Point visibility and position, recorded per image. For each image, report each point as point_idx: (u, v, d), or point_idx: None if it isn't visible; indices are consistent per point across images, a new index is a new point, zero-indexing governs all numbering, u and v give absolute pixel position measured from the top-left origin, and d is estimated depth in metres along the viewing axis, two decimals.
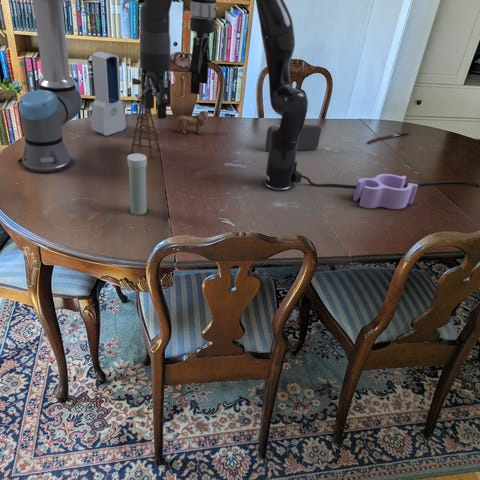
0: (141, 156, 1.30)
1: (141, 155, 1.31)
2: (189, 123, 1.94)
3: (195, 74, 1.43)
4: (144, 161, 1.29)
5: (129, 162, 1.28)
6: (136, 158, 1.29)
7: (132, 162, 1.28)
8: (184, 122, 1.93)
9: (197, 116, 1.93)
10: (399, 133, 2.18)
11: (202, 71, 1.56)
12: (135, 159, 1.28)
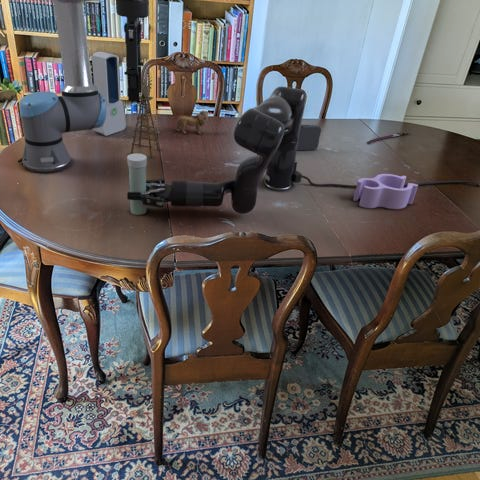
0: (141, 156, 1.30)
1: (141, 155, 1.31)
2: (189, 123, 1.94)
3: None
4: (144, 161, 1.29)
5: (129, 162, 1.28)
6: (136, 158, 1.29)
7: (132, 162, 1.28)
8: (184, 122, 1.93)
9: (197, 116, 1.93)
10: (399, 133, 2.18)
11: None
12: (135, 159, 1.28)
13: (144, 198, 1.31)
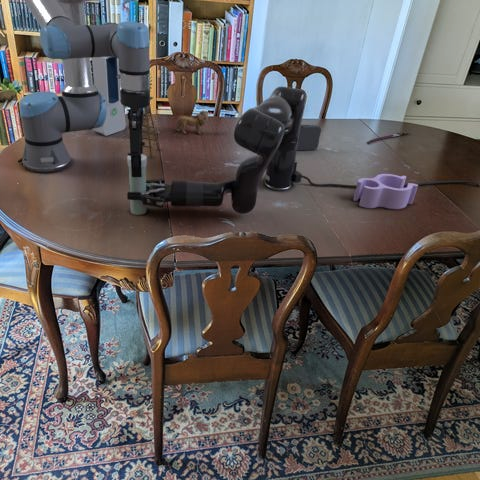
0: (141, 156, 1.30)
1: (141, 155, 1.31)
2: (189, 123, 1.94)
3: None
4: (144, 161, 1.29)
5: (129, 162, 1.28)
6: None
7: None
8: (184, 122, 1.93)
9: (197, 116, 1.93)
10: (399, 133, 2.18)
11: None
12: None
13: (144, 198, 1.31)
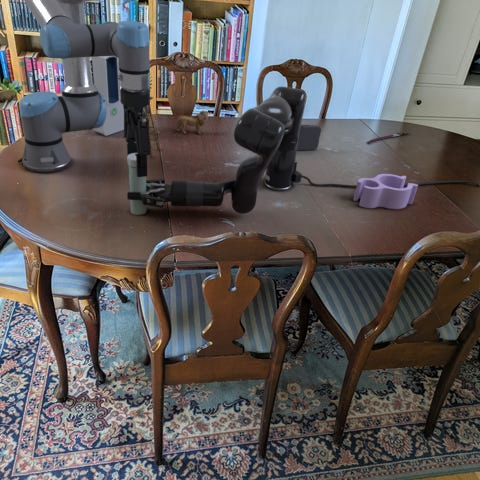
0: None
1: (134, 154, 1.31)
2: (189, 123, 1.94)
3: None
4: None
5: None
6: None
7: None
8: (184, 122, 1.93)
9: (197, 116, 1.93)
10: (399, 133, 2.18)
11: None
12: None
13: (144, 198, 1.31)
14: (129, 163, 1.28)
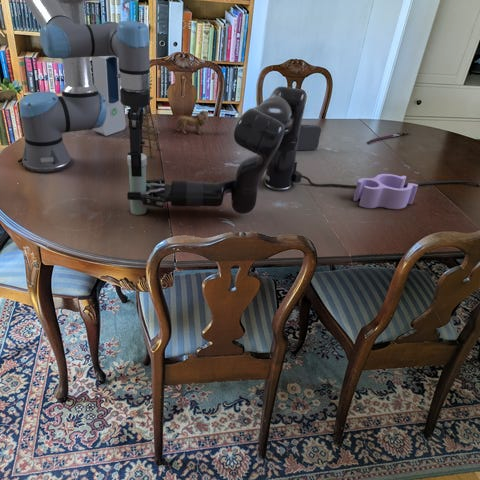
0: None
1: None
2: (189, 123, 1.94)
3: None
4: None
5: None
6: None
7: (143, 161, 1.29)
8: (184, 122, 1.93)
9: (197, 116, 1.93)
10: (399, 133, 2.18)
11: None
12: (142, 157, 1.29)
13: (144, 198, 1.31)
14: (129, 163, 1.28)
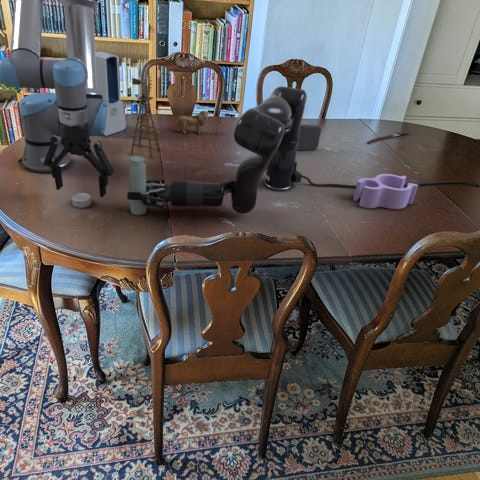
0: (77, 196, 1.38)
1: (75, 197, 1.38)
2: (189, 123, 1.94)
3: None
4: None
5: (90, 199, 1.40)
6: (83, 195, 1.39)
7: None
8: (184, 122, 1.93)
9: (197, 116, 1.93)
10: (399, 133, 2.18)
11: None
12: (86, 195, 1.40)
13: (144, 198, 1.31)
14: (84, 205, 1.37)
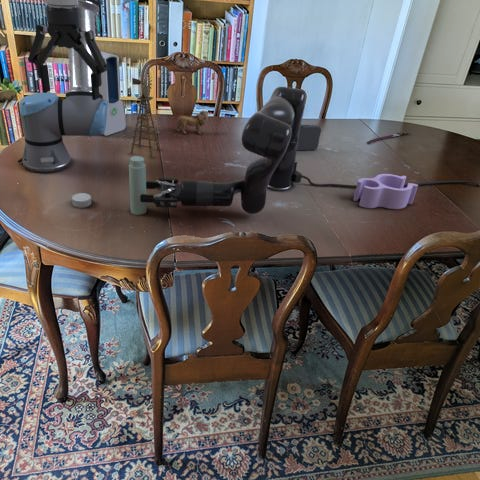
0: (77, 196, 1.38)
1: (75, 197, 1.38)
2: (189, 123, 1.94)
3: None
4: None
5: (90, 199, 1.40)
6: (83, 195, 1.39)
7: None
8: (184, 122, 1.93)
9: (197, 116, 1.93)
10: (399, 133, 2.18)
11: None
12: (86, 195, 1.40)
13: (157, 200, 1.30)
14: (84, 205, 1.37)
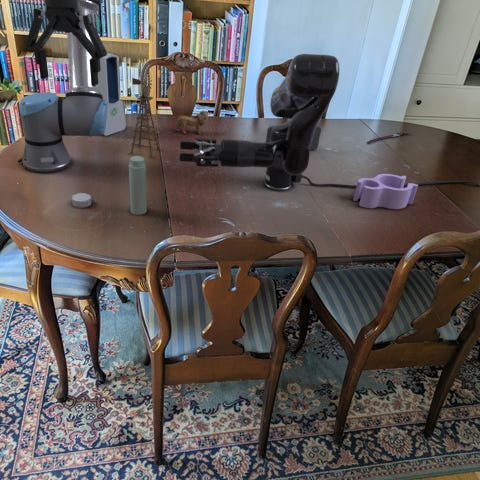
0: (77, 196, 1.38)
1: (75, 197, 1.38)
2: (189, 123, 1.94)
3: None
4: None
5: (90, 199, 1.40)
6: (83, 195, 1.39)
7: None
8: (184, 122, 1.93)
9: (197, 116, 1.93)
10: (399, 133, 2.18)
11: None
12: (86, 195, 1.40)
13: (198, 159, 1.24)
14: (84, 205, 1.37)
